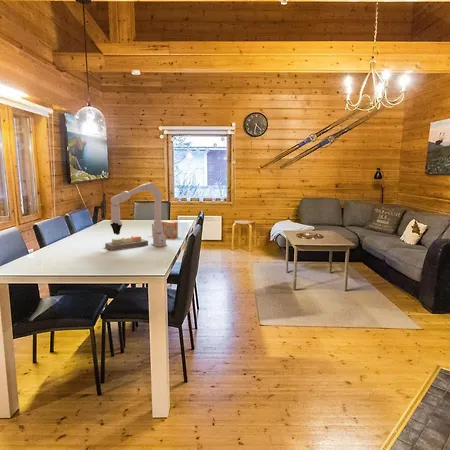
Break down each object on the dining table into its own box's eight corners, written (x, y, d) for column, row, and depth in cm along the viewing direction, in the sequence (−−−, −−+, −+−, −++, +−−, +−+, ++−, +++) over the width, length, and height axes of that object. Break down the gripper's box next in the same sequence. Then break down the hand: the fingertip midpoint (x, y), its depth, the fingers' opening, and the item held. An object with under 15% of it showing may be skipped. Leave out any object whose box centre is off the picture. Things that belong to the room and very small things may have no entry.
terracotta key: (141, 241, 248) (141, 236, 247) (134, 242, 245) (134, 237, 244) (138, 239, 252) (137, 235, 251) (131, 240, 249) (131, 236, 248)
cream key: (131, 242, 244) (131, 237, 243) (125, 243, 240) (124, 238, 240) (128, 241, 247) (128, 236, 247) (122, 242, 244) (121, 237, 244)
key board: (148, 245, 248) (147, 240, 247) (112, 250, 232) (112, 246, 231) (140, 242, 257) (140, 238, 257) (105, 247, 241) (105, 243, 240)
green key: (122, 243, 239) (121, 239, 239) (115, 244, 236) (114, 240, 236) (119, 242, 243) (119, 238, 243) (112, 243, 240) (111, 238, 239)
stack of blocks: (152, 235, 283) (151, 220, 281) (157, 234, 288) (156, 219, 286) (173, 238, 272) (172, 222, 270) (178, 236, 278) (177, 221, 276)
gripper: (105, 213, 239) (106, 233, 242) (114, 215, 228) (115, 236, 230) (115, 212, 244) (116, 232, 246) (124, 215, 233) (125, 235, 235)
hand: (116, 234), depth 239 cm, fingers open, 3 cm apart
